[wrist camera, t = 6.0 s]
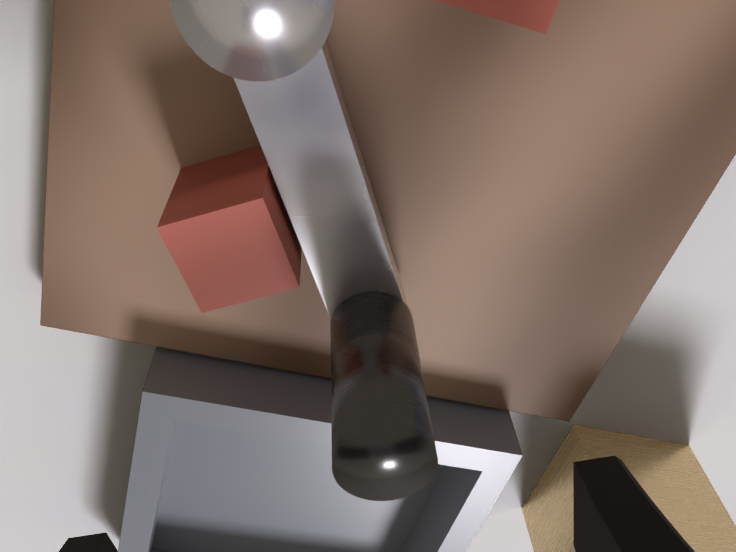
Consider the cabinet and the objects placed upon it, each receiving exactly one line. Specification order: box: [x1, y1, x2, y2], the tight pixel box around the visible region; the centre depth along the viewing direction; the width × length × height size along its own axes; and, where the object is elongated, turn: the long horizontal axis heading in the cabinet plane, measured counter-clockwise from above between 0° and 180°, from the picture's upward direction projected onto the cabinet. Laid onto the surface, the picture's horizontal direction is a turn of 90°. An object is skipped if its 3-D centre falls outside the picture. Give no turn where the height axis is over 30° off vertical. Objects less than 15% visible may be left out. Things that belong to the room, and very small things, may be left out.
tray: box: [118, 347, 523, 552], centre depth 20 cm, size 10×10×2 cm
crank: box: [170, 0, 438, 501], centre depth 12 cm, size 9×3×5 cm, turn 16°
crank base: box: [40, 0, 736, 421], centre depth 14 cm, size 14×12×4 cm
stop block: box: [522, 425, 736, 552], centre depth 20 cm, size 4×4×5 cm
